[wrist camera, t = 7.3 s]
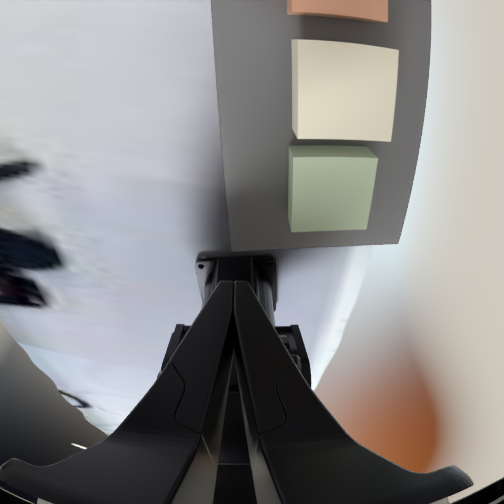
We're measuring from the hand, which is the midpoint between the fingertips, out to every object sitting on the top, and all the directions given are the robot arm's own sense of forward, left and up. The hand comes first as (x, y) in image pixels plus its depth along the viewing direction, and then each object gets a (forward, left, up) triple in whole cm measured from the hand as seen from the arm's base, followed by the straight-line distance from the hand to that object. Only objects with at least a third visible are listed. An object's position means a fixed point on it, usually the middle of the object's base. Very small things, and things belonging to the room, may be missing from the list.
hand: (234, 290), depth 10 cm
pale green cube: (-1, -5, -13) cm, 14 cm away
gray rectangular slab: (+5, -5, -13) cm, 15 cm away
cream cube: (+5, -5, -12) cm, 13 cm away
